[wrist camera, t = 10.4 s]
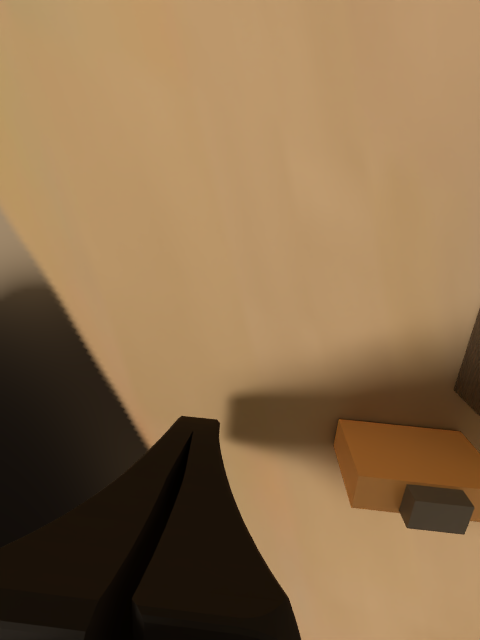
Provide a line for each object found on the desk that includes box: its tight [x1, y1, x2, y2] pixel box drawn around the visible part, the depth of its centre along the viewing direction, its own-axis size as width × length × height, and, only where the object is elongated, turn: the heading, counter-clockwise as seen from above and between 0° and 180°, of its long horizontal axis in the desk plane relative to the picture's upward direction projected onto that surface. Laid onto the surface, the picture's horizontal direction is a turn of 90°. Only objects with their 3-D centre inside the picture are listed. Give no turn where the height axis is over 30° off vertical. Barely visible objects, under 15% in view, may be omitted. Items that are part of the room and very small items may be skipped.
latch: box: [334, 419, 480, 534], centre depth 11 cm, size 4×1×3 cm, turn 86°
